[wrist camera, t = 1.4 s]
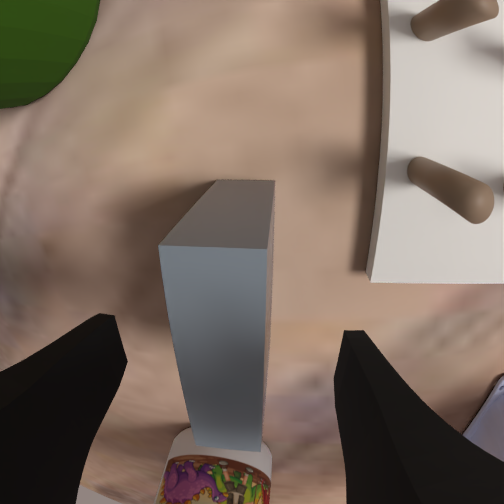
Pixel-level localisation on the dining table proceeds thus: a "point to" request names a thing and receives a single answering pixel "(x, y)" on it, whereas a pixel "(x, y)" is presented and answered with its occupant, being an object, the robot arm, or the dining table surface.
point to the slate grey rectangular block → (223, 309)
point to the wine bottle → (40, 45)
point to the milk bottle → (214, 474)
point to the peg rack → (440, 144)
